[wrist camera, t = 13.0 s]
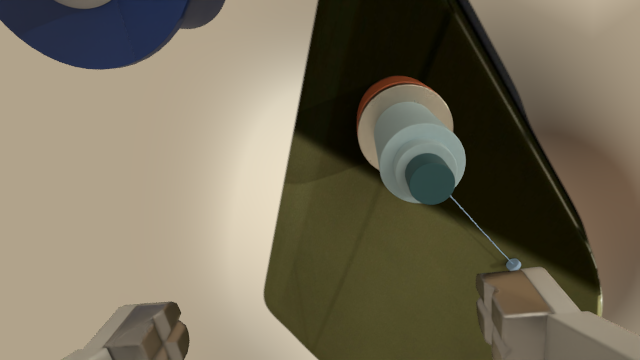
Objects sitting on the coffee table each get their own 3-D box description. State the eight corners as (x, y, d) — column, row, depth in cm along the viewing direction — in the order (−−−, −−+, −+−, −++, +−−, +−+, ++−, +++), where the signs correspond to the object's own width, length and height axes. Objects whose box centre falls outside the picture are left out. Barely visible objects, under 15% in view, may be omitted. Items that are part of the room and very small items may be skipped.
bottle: (370, 106, 32) (377, 144, 20) (435, 96, 31) (482, 129, 19) (377, 166, 34) (387, 232, 22) (439, 158, 33) (484, 222, 21)
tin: (352, 81, 40) (350, 91, 32) (431, 68, 39) (452, 75, 30) (362, 155, 43) (363, 182, 34) (436, 145, 41) (456, 171, 33)
